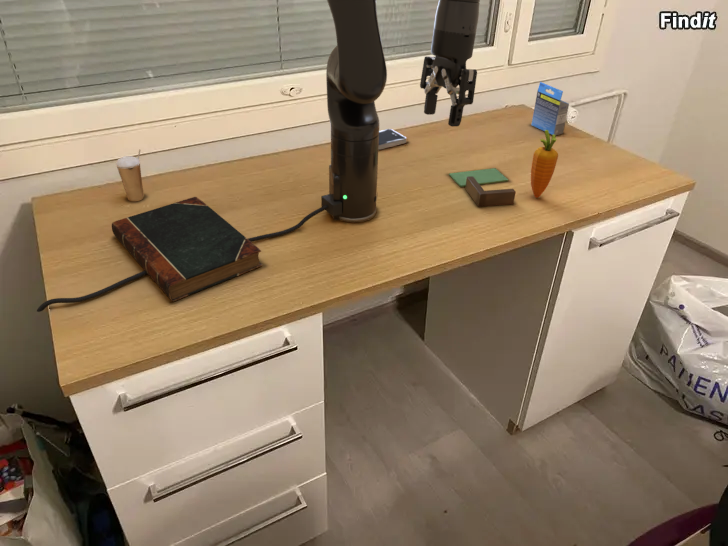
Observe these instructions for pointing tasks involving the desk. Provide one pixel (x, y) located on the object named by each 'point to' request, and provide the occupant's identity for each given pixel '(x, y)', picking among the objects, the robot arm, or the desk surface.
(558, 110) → the label tape box
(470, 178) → the corner stop
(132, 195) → the milkshake
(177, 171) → the desk surface
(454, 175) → the rag
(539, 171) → the carrot
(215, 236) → the book
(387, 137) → the smartphone
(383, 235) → the desk surface
